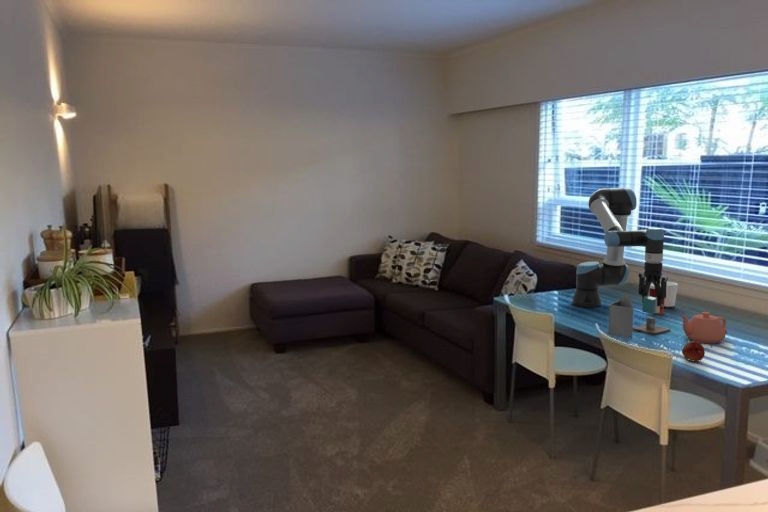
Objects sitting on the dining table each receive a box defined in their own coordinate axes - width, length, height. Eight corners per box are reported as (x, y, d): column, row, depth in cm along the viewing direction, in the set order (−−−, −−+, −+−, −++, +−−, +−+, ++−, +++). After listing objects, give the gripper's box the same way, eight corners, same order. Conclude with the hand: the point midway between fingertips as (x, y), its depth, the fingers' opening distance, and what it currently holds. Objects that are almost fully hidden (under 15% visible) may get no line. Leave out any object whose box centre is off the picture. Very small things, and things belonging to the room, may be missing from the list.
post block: (630, 329, 279) (631, 317, 278) (647, 325, 285) (647, 313, 284) (653, 335, 269) (654, 322, 268) (670, 331, 275) (670, 318, 274)
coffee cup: (667, 315, 302) (668, 286, 300) (649, 315, 304) (651, 286, 302) (663, 311, 310) (664, 283, 308) (646, 311, 312) (647, 283, 310)
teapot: (689, 346, 252) (691, 318, 250) (668, 336, 267) (669, 309, 265) (738, 344, 254) (740, 315, 252) (714, 334, 269) (715, 307, 267)
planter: (602, 328, 282) (603, 288, 280) (619, 328, 282) (621, 288, 279) (614, 338, 266) (616, 296, 263) (632, 338, 266) (634, 295, 263)
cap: (642, 311, 276) (643, 297, 275) (649, 310, 279) (650, 296, 278) (652, 314, 272) (653, 299, 271) (659, 312, 274) (660, 298, 273)
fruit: (682, 363, 232) (683, 343, 231) (680, 357, 239) (681, 337, 238) (705, 365, 229) (706, 345, 228) (702, 358, 237) (703, 339, 235)
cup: (671, 309, 314) (673, 286, 312) (653, 306, 321) (654, 283, 319) (679, 306, 320) (681, 283, 318) (661, 303, 328) (662, 280, 326)
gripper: (631, 260, 278) (629, 308, 281) (666, 265, 262) (664, 316, 266) (641, 258, 282) (639, 306, 285) (677, 263, 266) (674, 314, 269)
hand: (651, 311), depth 275 cm, fingers closed on cap, 5 cm apart
